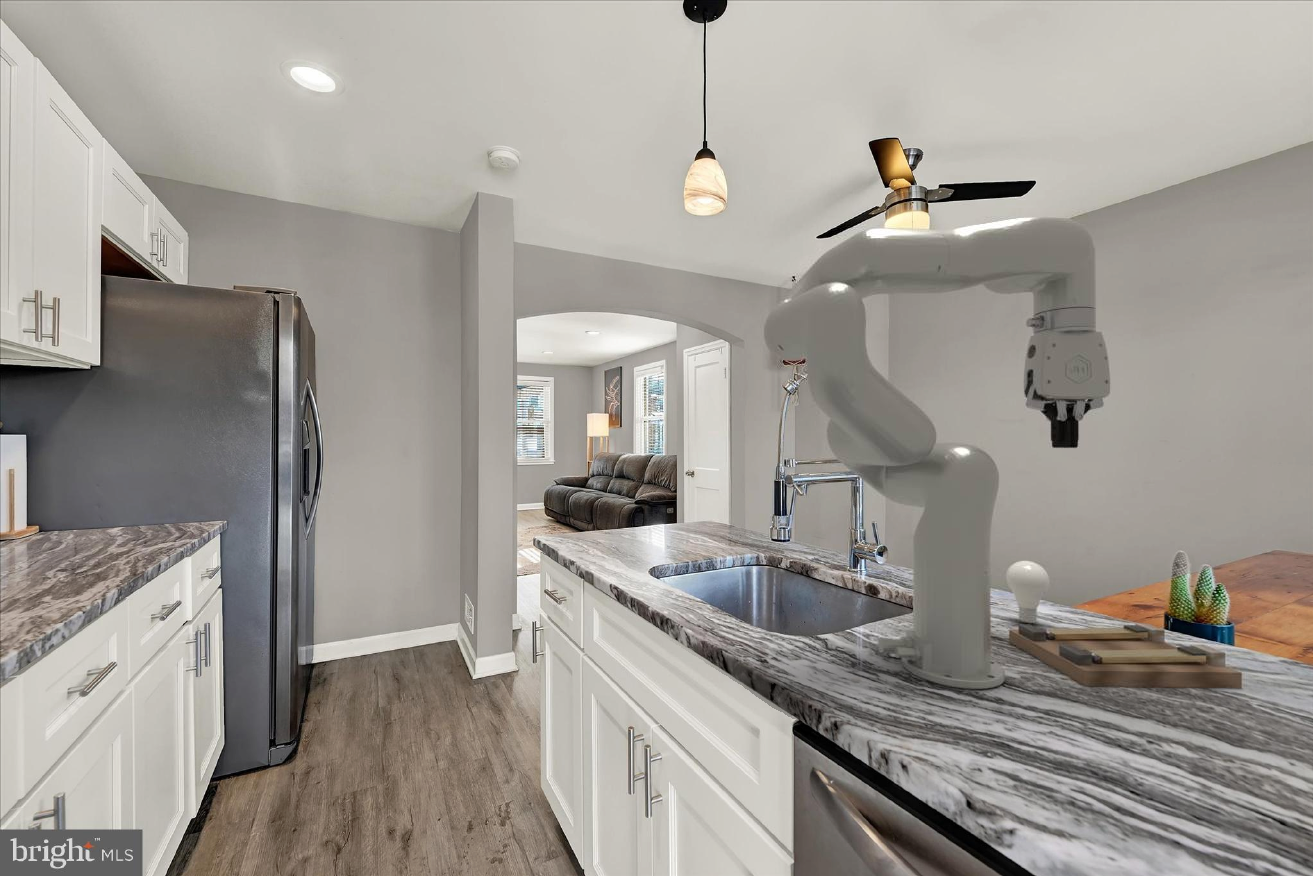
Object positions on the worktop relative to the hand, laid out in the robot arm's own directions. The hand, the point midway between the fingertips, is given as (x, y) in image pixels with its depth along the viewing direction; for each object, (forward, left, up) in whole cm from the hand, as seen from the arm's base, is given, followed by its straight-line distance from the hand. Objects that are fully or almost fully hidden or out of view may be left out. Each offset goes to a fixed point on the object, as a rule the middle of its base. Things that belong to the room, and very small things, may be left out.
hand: (1064, 447), depth 83 cm
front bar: (+5, -7, -29) cm, 30 cm away
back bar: (+5, +2, -29) cm, 29 cm away
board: (+5, -2, -31) cm, 32 cm away
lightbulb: (+4, +15, -31) cm, 35 cm away
